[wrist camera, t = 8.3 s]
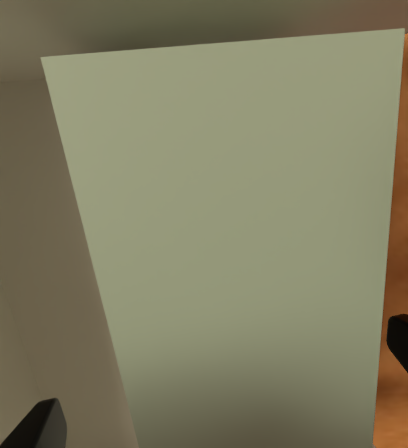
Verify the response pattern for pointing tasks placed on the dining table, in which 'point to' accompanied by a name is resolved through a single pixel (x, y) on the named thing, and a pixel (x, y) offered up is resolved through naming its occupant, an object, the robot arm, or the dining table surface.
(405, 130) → the dining table surface
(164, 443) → the shelf board
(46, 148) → the tray
